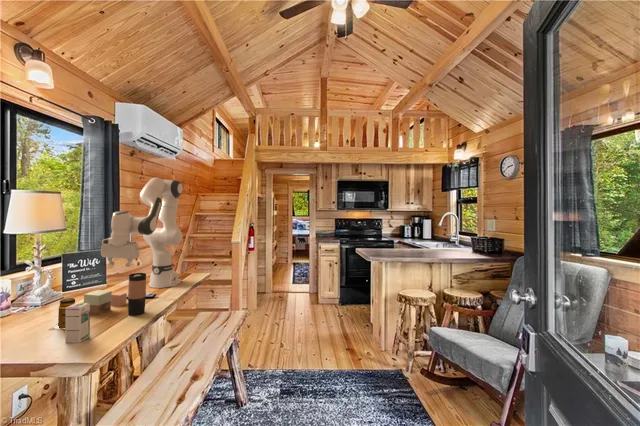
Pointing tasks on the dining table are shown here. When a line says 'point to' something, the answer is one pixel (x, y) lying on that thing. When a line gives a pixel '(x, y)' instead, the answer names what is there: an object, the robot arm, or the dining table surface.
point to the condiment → (64, 311)
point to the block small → (118, 299)
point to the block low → (100, 308)
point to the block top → (97, 297)
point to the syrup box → (77, 322)
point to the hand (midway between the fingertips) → (119, 266)
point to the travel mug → (136, 294)
